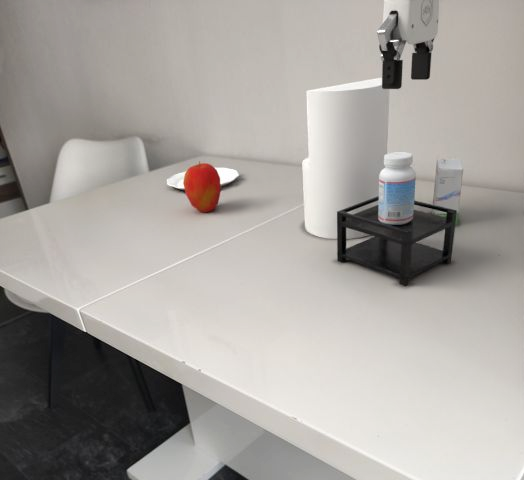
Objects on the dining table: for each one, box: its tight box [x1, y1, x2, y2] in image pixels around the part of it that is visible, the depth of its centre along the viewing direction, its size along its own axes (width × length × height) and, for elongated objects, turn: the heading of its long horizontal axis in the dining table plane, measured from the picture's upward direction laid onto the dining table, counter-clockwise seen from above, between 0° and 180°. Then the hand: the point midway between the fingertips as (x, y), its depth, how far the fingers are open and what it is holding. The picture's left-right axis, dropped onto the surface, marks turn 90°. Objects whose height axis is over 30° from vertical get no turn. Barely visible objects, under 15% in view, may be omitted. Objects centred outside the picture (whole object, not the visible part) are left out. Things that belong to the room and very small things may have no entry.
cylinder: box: [301, 77, 391, 240], centre depth 111 cm, size 17×17×28 cm
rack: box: [336, 196, 457, 287], centre depth 97 cm, size 16×13×10 cm
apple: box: [183, 161, 222, 213], centre depth 132 cm, size 9×9×12 cm
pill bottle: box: [378, 151, 417, 225], centre depth 93 cm, size 6×6×11 cm
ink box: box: [431, 158, 464, 226], centre depth 113 cm, size 8×5×12 cm, turn 168°
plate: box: [166, 167, 240, 191], centre depth 156 cm, size 21×21×2 cm
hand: (406, 83), depth 88 cm, fingers open, 9 cm apart
